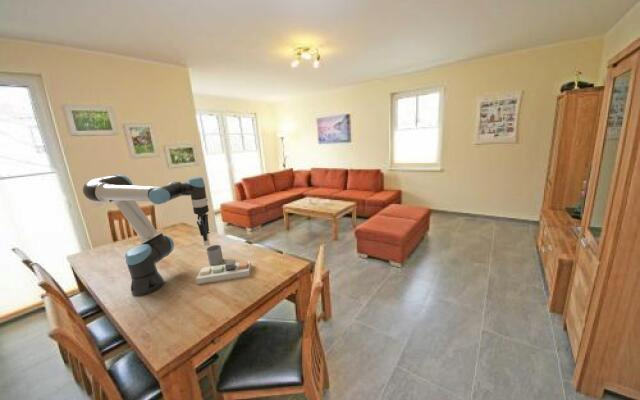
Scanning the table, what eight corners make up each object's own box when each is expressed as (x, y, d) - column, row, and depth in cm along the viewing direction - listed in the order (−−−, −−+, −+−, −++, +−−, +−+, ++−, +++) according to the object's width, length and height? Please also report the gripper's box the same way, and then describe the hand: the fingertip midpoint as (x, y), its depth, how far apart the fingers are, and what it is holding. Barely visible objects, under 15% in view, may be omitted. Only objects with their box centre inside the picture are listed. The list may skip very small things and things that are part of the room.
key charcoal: (226, 272, 142) (225, 265, 141) (227, 267, 147) (226, 261, 146) (234, 270, 143) (233, 264, 142) (236, 266, 148) (235, 260, 147)
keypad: (197, 284, 137) (196, 278, 136) (203, 273, 149) (202, 267, 148) (249, 276, 142) (248, 270, 141) (251, 265, 153) (250, 260, 152)
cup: (218, 265, 156) (215, 251, 154) (206, 265, 158) (203, 250, 155) (225, 259, 164) (223, 245, 161) (214, 258, 166) (211, 244, 163)
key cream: (200, 278, 141) (199, 272, 140) (203, 274, 145) (201, 268, 144) (209, 277, 141) (208, 270, 140) (211, 272, 146) (210, 266, 145)
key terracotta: (239, 272, 144) (238, 266, 143) (240, 268, 148) (239, 262, 147) (247, 271, 145) (246, 265, 144) (248, 267, 149) (247, 261, 148)
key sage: (213, 276, 142) (212, 270, 141) (215, 272, 146) (214, 266, 145) (222, 275, 142) (221, 269, 141) (224, 271, 147) (223, 264, 146)
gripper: (204, 208, 131) (211, 249, 137) (210, 202, 143) (216, 239, 149) (189, 209, 130) (196, 251, 136) (196, 203, 142) (203, 241, 148)
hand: (207, 245), depth 143 cm, fingers closed
